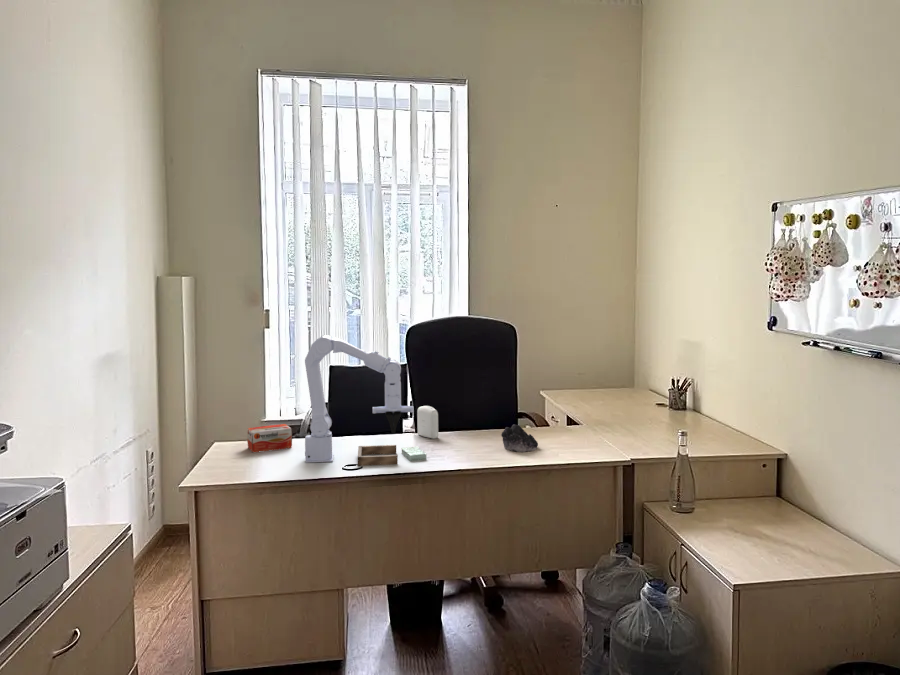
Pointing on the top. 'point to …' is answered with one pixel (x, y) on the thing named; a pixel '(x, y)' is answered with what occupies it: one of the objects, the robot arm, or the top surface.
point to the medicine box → (269, 438)
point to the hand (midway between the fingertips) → (393, 432)
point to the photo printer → (427, 422)
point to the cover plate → (414, 453)
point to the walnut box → (377, 459)
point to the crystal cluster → (518, 439)
